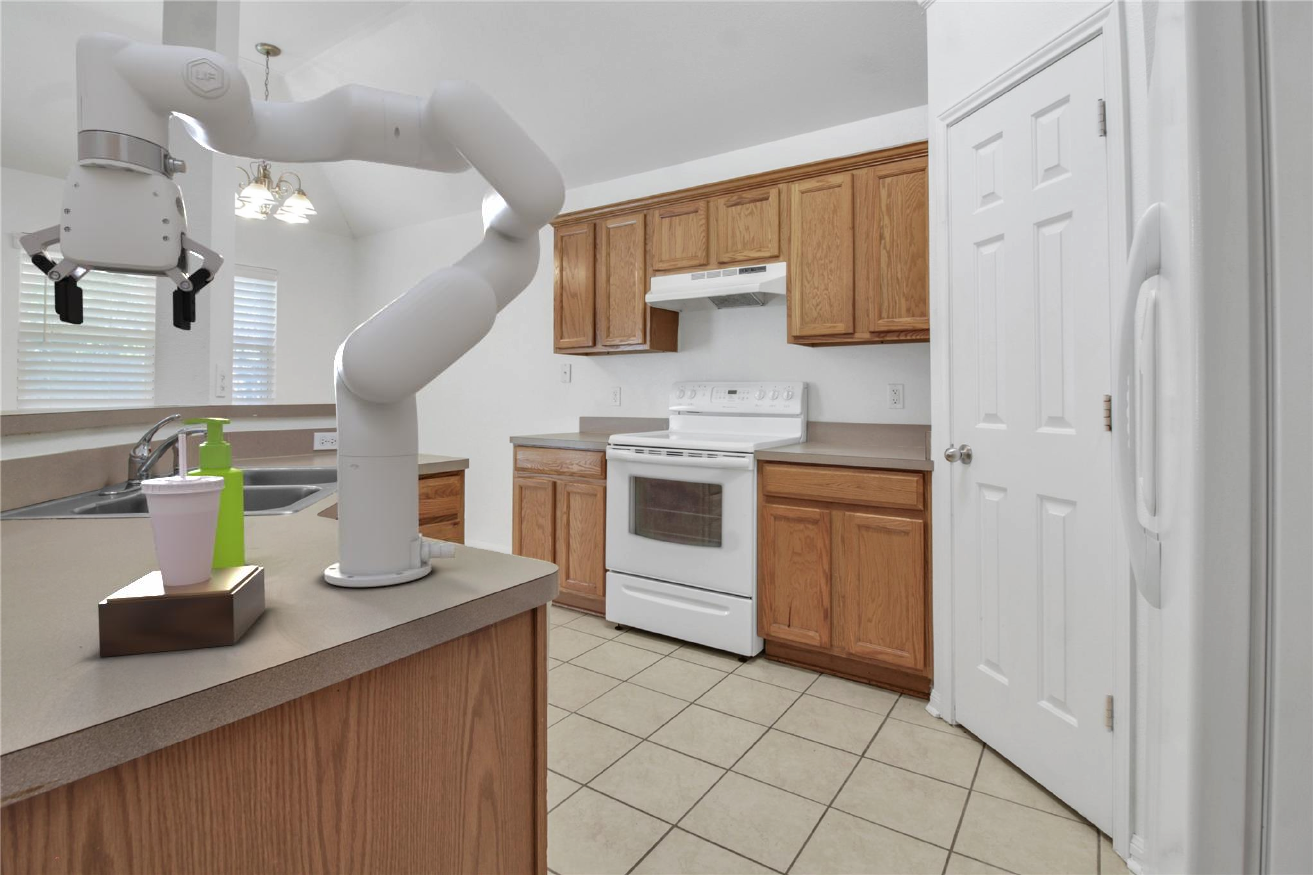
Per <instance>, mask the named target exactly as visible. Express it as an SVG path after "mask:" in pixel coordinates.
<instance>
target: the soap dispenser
mask: <svg viewBox="0 0 1313 875" xmlns="http://www.w3.org/2000/svg"><path fill="white" fill-rule="evenodd" d="M181 423H182V425H186V426H187V425H199V424H206V441H204V442H203V443H201V444H199V446H198V453H199V454H198V455H199V457H198V458H199V460H198V461H199V468H198V469H195V470H191V471H188V472H187V476H216V477H223V478H224V486H225V488H224V489H221V495H220V505H219V512H218V520H217V528H216V537H215V545H214V553H213V561H212V568H225V567H242V566H246V561H245V558H246V556H245V555H246V554H245V510H244V509H245V508H244V507H245V504H244V470H243V469H240V468H233V467H232V444H231V443H227V441H224V425H231V419H227V418H220V417H194V418H188V419H184V420H182V421H181Z"/></svg>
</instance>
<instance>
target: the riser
mask: <svg viewBox="0 0 1313 875" xmlns="http://www.w3.org/2000/svg"><path fill="white" fill-rule="evenodd" d="M265 588H266V586H265V567H264V566H263V567H262V566H261V567H260V566H259V565H245V566H242V567H225V568H212V569H211V578H210V579H209V580H206V581H204V582H200V583H195V584H190V585H181V586H166V585H163V584H162V579H161V574H160V570H159V571H152V572H151V573H149V574H147V575H145V576H143V577H142V578H140V579H138V580H136V581H135V582H133V583H131V584H129V585H128V586H125V587H124V588H122V589H120V590H118V591H117V592H115V593H113V594H111V595H110V596H108V597H106V598H105V599H103V600H102V601H100V602H99V603H98V604H97V611H98V636H99V637H98V638H99V639H98V640H99V658H105V657H108V658H109V657H119V656H128V655H139V654H140V655H141V654H151V653H161V652H171V651H181V650H192V649H193V650H194V649H203V648H205V649H206V648H214V647H226V646H227V647H228V646H234V645H236V644H237V642H238V641H239V640H240V639H241V638H242V637H243V636H244V634H246V632H247V631H248V630H250V628H251V627H252V626H253V625H254V623H256V621H257V620H258V619H259V618H260V617H261V616H262V615H263V614H264V612H266V597H265V596H266V595H265V594H266V593H265V592H266V591H265V590H266V589H265Z"/></svg>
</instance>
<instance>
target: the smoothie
mask: <svg viewBox="0 0 1313 875" xmlns="http://www.w3.org/2000/svg"><path fill="white" fill-rule="evenodd" d="M177 436H178V437H177V438H178V471H179V475H177V476H170V477H160V478H152V479H147V480H143V481H141V491H140V493H141V494H144V495H145V497H146V504H147V510H148V514H149V519H150V520H149V521H150V525H151V532H152V536H153V542H154V546H155V552H156V557H157V558H156V559H157V562H158V568H159V571H160V574H161V579H162V584H163V585H166V586H181V585H190V584H195V583H200V582H204V581H206V580H209V579H210V578H211V569H212V561H213V553H214V545H215V537H216V528H217V520H218V512H219V505H220V495H221V489H224V488H225V486H224V478H223V477H216V476H188V472H187V471H188V470H187V468H188V467H187V466H188V465H187V435H186V433H178V434H177Z"/></svg>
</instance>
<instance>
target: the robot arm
mask: <svg viewBox="0 0 1313 875" xmlns="http://www.w3.org/2000/svg"><path fill="white" fill-rule="evenodd" d="M75 67H76V68H75V69H76V70H75V74H76V77H75V78H76V126H77V128H76V130H77V165H70V168H69V171H68V174H67V178H66V181H65V185H64V190H63V195H62V201H61V202H62V203H61V211H60V222H59V223H58V224H56V225H53V226H49V227H46V228H44V229H43V228H42V229H40V230H37V231H34V232H30V233H27V234H25V235H22V236H20V238H19V243H20V245H21V247H22V248H23V249H24V251H25V253H26V254H27V256H28V257H29V258H30V259H31V263H32V265H34V266H35V267H36V268H38V270H40V272H42V273H43V274H44V275H45V276H46V277H47V278H48V279H49V281H52V282H53V287H54V290H53V291H54V311H55V313H56V314H57V315H58V318H59V320H60V322H62V323H66V324H71V325H78V326H81V324H84V291H83V287H81V286H79V285H78V282H79V281H80V280H82V279H83V278H84V277H85V276H86V275H87V274H88V273H89V272H90V271H93V272H98V273H107V274H118V275H131V276H144V277H155V278H156V277H158V278H170V279H171V281H172V282H173V283H175V285H176V289H174V291H172V326H173V327H174V328H176V329H178V330H182V331H191V328H192V324H191V323H196V321H197V320H196V319H197V316H196V315H197V314H196V312H197V311H196V305H197V304H196V296H197V295H199V294H200V292H201V290H202V289H203V288H205V287H206V286H208V285H209V284H210V283H211V282H212V281H214V279H215V276H216V275H217V273H218V272H219V270H220V269H221V267H222V265H223V264H224V262H225V258H224V256H222V255H221V254H219V253H218V252H217V251H214V250H212V249H210V248H209V247H207V246H204V245H203V244H201V243H200V242H197V241H195V240H193V239H191V238H189V229H188V228H189V227H188V220H187V214H186V208H185V203H184V197H183V193H182V190H181V187H180V186H179V184H177V183H176V182H175V181H174V180H173V177H174V174H178V173H181V174H186V172H187V166H186V161H185V160H183V159H177V158H176V157H173V156H172V155H171V128H170V127H171V125H170V122H171V121H170V120H171V118H172V117H179V119H180V121H181V123H182V126H183V127H184V129H185V130H186V132H187V133H188V134H189V136H190V137H191V138H192V139H193V140H194V141H196V142H197V143H199V145H201V146H202V147H205V148H206V149H208V150H211V151H214V152H216V153H219V154H223V155H226V156H231V157H236V158H243V159H249V160H250V159H251V160H258V161H263V162H264V161H265V162H272V163H279V164H282V163H283V164H314V163H336V162H343V161H360V162H361V161H362V162H367V163H368V162H369V163H374V164H384V165H391V166H397V167H403V168H411V169H415V170H423V171H428V172H429V171H430V172H436V173H445V174H462V173H465V172H468V171H470V170H471V169H472V168H473V169H474V170H475V171H476V172H477V173H478V174H479V176H481V178H483V179H484V181H485V182H486V183H488V185H490V186H489V187H488V188H487V190H486V192H485V193H484V196H483V199H482V207H481V208H482V209H481V210H482V219H483V227H484V231H483V238H482V239H481V241H480V242H479V243H478V244H477V245H476V246H475V247H473V248H472V249H471V250H469V251H467V253H466V254H465V255H463V256H462V257H461V258H459V259H458V260H457V261H455V263H453V264H452V265H451V266H444V267H441V268H437V269H435V270H433V271H432V272H430V273H429V274H427V275H426V276H425V277H423V278H422V279H421V280H419V281H418V282H417V283H416V284H414V285H413V286H411V287H410V288H409V289H408V290H406V291H405V292H403V293H402V294H401V295H399V296H398V297H397V298H395V299H394V300H392V301H391V302H390V303H389V304H387V305H385V306H384V307H383V308H382V309H380V310H379V311H378V312H376V313H375V314H374V315H372V316H371V317H370V318H368V319H367V320H365V321H363V323H361V324H360V325H359V326H357V327H356V328H355V329H354V330H352V331H351V333H349V335H348V336H346V338H344V340H343V341H342V342H341V344H340V345H339V347H338V349H337V352H336V354H335V359H334V367H333V378H334V380H333V381H334V394H335V395H334V396H335V415H336V483H337V484H336V488H337V490H336V492H337V546H338V547H337V560H338V561H337V562H336V563H333V564H331V565H329V566H328V567H327V568H326V569H325V570H324V580H325V581H326V582H327V583H328V584H331V585H334V586H338V587H346V588H347V587H348V588H372V587H373V588H375V587H384V586H392V585H398V584H402V583H407V582H411V581H415V580H418V579H420V578H423V577H426V576H427V575H428V574H429V573H431V571H432V561H431V560H430V559H442V560H443V559H454V558H456V543H455V542H449V543H448V542H447V543H446V541H438V542H428V541H427V540H426V541H423V533H420V528H419V527H420V525H419V524H420V522H419V521H420V520H419V516H420V515H419V514H420V512H419V510H420V509H419V507H420V506H419V421H418V420H419V419H418V407H417V393H418V392H420V391H421V390H422V389H424V388H425V387H426V386H427V385H429V384H430V383H432V382H433V381H434V380H435V379H436V378H438V377H439V376H440V375H441V374H442V373H444V372H445V371H446V370H447V369H449V368H450V367H451V366H452V365H453V364H455V363H456V362H457V361H458V360H460V359H461V358H462V357H463V356H465V355H466V354H467V353H468V352H469V351H471V350H472V349H474V347H475V346H477V345H478V344H479V343H480V342H481V341H482V340H483V339H484V338H485V337H486V336H487V335H488V334H489V333H490V331H491V330H492V328H493V326H494V325H495V323H496V319H497V315H498V314H499V313H501V311H503V310H504V309H505V308H506V307H507V306H508V305H510V304H511V303H512V302H513V301H514V300H515V299H516V298H517V297H518V296H520V295H521V294H522V293H523V292H524V291H525V290H526V289H527V288H528V287H529V286H530V284H531V283H532V282H533V280H534V278H535V276H536V274H537V271H538V268H539V264H540V259H541V258H540V257H541V243H540V242H541V241H540V230H542V228H545V227H546V226H547V225H549V224H550V223H551V222H552V221H553V220H555V219H556V218H557V217H558V215H559V214H560V213H561V211H562V210H563V207H564V204H565V201H566V187H565V182H564V180H563V177H562V175H561V173H560V170H559V169H558V168H557V166H556V165H555V164H554V162H553V161H552V160H551V159H550V157H549V156H548V155H547V154H546V152H544V151H543V150H542V148H541V147H540V146H539V145H538V144H537V143H536V142H535V141H534V139H532V138H531V136H530V135H529V134H528V133H527V132H526V131H525V130H524V128H523V127H521V126H520V124H519V123H518V122H517V121H516V119H514V117H512V116H511V114H509V112H508V111H507V110H506V109H505V108H504V107H503V106H502V105H501V104H500V103H499V102H498V101H497V100H495V98H494V97H492V96H491V95H490V94H489V93H488V92H487V91H485V90H484V89H483V88H482V87H480V86H478V85H476V84H475V83H473V82H470V81H468V80H464V79H461V78H449V79H446V80H443V81H442V82H440V83H438V85H437V86H436V87H435V88H434V89H433V91H432V93H431V94H430V97H429V98H426V97H422V96H415V95H410V94H405V93H400V92H395V91H391V90H386V89H381V88H375V87H372V86H371V87H370V86H366V85H362V84H358V83H357V84H356V83H349V84H345V85H341V86H338V87H336V88H333V89H331V90H330V91H328V92H326V93H324V94H322V95H320V96H318V97H316V98H313V99H310V100H305V101H304V100H303V101H295V102H294V101H293V102H292V101H291V102H287V101H286V102H285V101H273V100H267V99H260V98H256V97H252V96H251V90H250V86H249V83H248V80H247V78H246V75H245V73H243V71H242V69H240V67H239V66H238V65H237V63H235V62H234V61H232V59H230V58H228V57H227V56H225V55H224V54H222V53H220V52H217V51H214V50H212V49H207V48H203V47H197V46H186V45H174V44H173V45H171V44H160V43H149V42H143V41H140V40H138V39H135V38H133V37H131V36H127V35H124V34H121V33H116V32H112V31H105V30H91V31H87V32H84V33H83V34H82V35H80V36H79V38H78V39H77V41H76V44H75ZM56 244H59V247H60V253H61V255H62V257H63V258H62V259H61V260H60V261H59V262H58V263H57V262H56V261H55V260H54V259H52V258H51V256H50V254H49V252H48V250H47V249H48V247H51V246H54V245H56ZM191 253H192V254H194V255H195V256H198V257H199V258H201V259H202V260H203V262H202V264H201V266H200V268H198V269H197V270H196V271H194V272H193V273H191V274H190V271H191ZM189 274H190V275H189Z"/></svg>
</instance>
